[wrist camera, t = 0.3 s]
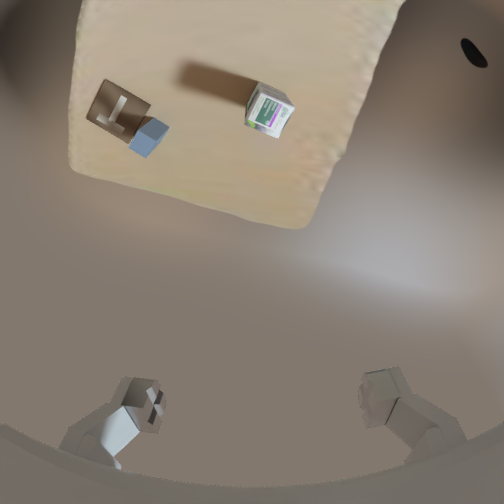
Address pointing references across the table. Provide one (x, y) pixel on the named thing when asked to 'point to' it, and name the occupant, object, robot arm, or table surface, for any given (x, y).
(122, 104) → the letter card
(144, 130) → the slate block
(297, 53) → the table surface
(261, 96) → the syrup box
